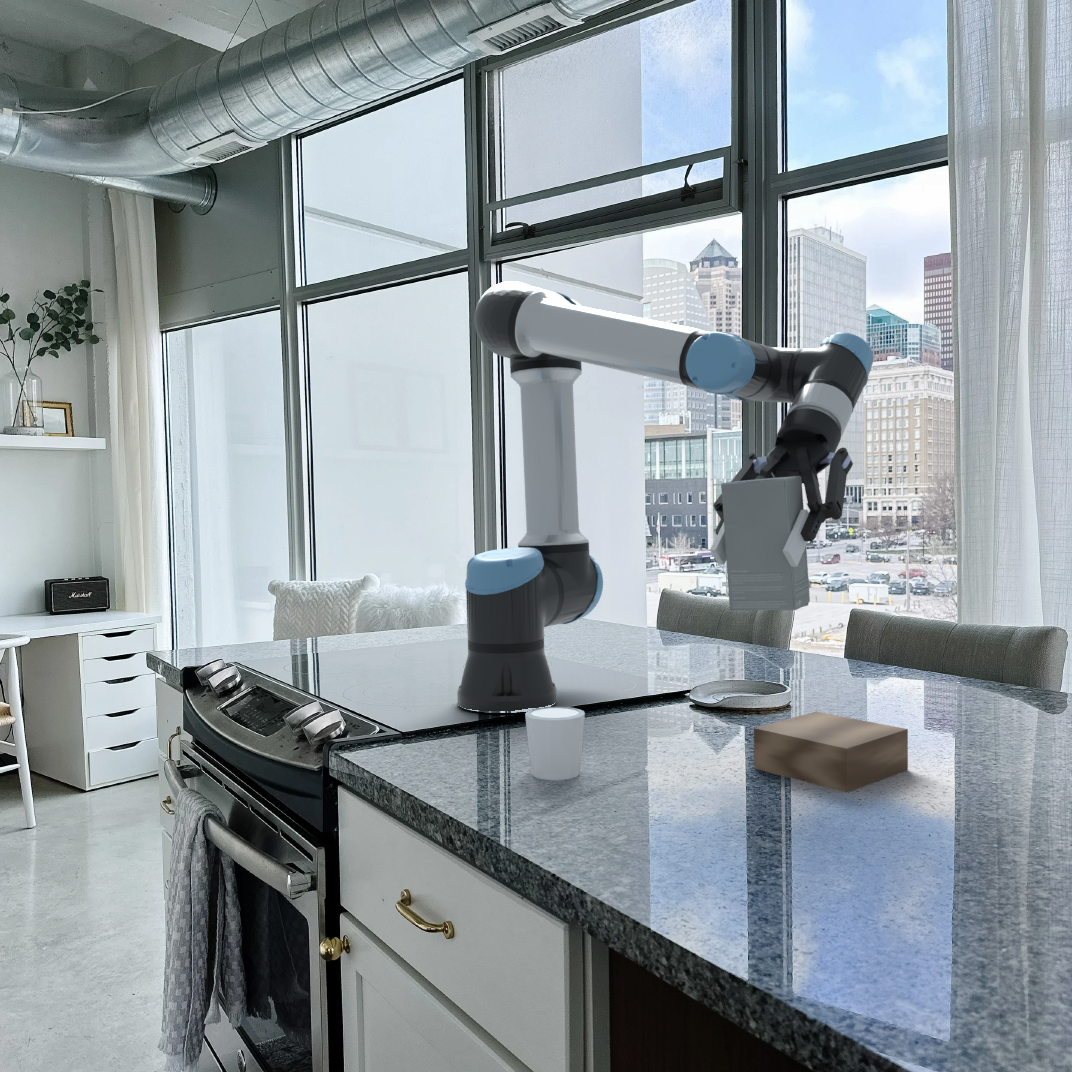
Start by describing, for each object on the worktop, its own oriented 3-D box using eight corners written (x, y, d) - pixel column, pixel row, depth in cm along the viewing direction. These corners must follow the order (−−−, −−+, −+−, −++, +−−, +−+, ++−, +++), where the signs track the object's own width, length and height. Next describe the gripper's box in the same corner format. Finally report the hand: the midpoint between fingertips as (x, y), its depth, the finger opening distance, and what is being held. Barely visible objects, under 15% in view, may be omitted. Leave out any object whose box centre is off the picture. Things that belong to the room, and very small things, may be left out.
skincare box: (810, 606, 115) (808, 475, 115) (792, 613, 109) (790, 475, 109) (743, 604, 120) (740, 478, 119) (722, 610, 114) (719, 478, 113)
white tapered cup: (581, 783, 105) (580, 720, 104) (520, 780, 106) (518, 718, 106) (590, 765, 111) (589, 706, 111) (532, 763, 113) (531, 704, 112)
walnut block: (754, 771, 109) (753, 728, 109) (816, 751, 116) (816, 711, 116) (847, 795, 100) (846, 748, 99) (907, 773, 107) (907, 729, 107)
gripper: (905, 442, 118) (850, 582, 107) (750, 452, 132) (688, 575, 121) (886, 397, 114) (828, 537, 103) (729, 412, 128) (662, 536, 117)
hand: (752, 558), depth 112 cm, fingers closed on skincare box, 9 cm apart
